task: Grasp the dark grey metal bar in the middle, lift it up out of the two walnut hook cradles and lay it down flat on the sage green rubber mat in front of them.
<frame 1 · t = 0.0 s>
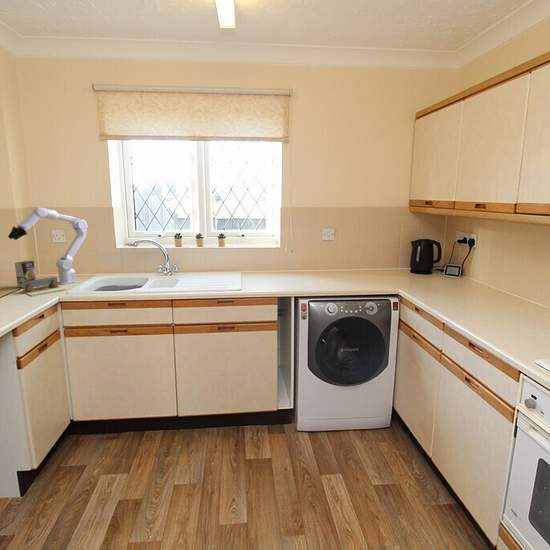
hand: (11, 238, 238), 32 cm above the table, tool tilted 50°, fingers open, 7 cm apart
rail: (40, 285, 247), point 3 cm above the table, touching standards
mat: (47, 291, 241), on the table
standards: (41, 289, 247), on the table
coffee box: (27, 286, 256), on the table
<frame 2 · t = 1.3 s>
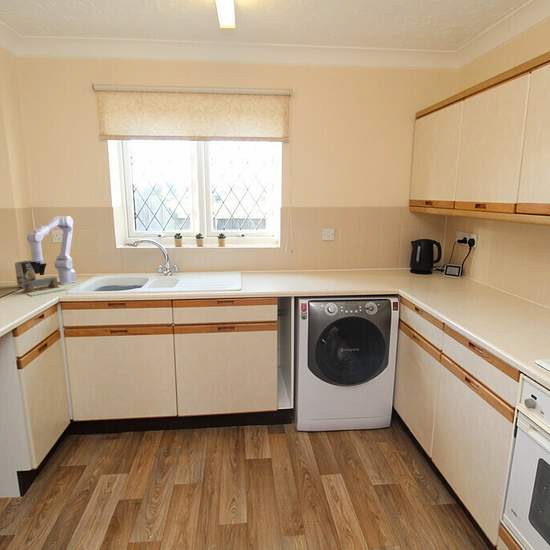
hand: (39, 274, 245), 10 cm above the table, tool pointing down, fingers open, 7 cm apart
nothing on the table moved.
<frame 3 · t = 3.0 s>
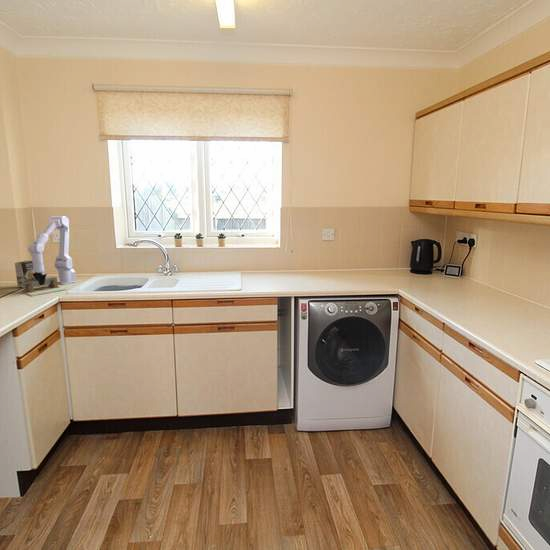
hand: (40, 284, 246), 3 cm above the table, tool pointing down, fingers closed on rail, 3 cm apart
rail: (40, 285, 247), point 3 cm above the table, touching gripper, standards
everything else where it was.
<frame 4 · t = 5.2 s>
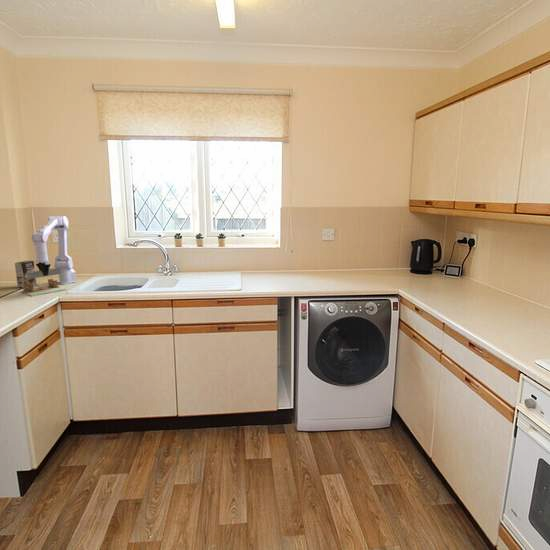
hand: (44, 275, 240), 10 cm above the table, tool pointing down, fingers closed on rail, 3 cm apart
rail: (44, 275, 240), point 10 cm above the table, touching gripper
everything else where it was.
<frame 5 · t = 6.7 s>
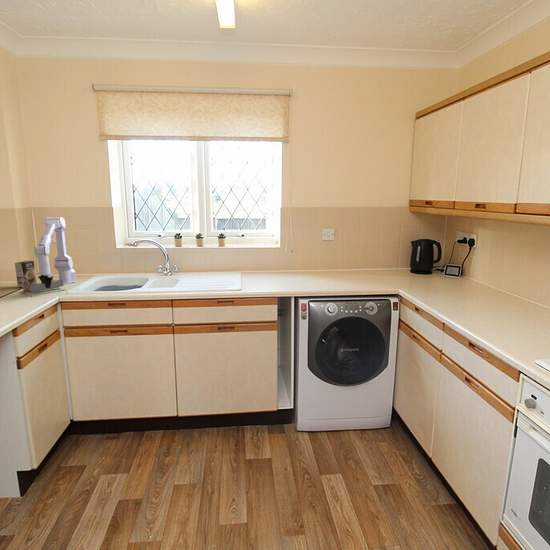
hand: (46, 287, 241), 3 cm above the table, tool pointing down, fingers closed on rail, 3 cm apart
rail: (46, 288, 241), point 2 cm above the table, touching gripper
everything else where it was.
when the fingers open (2 cm above the table, at t = 7.7 s): rail stays where it is, resting on mat.
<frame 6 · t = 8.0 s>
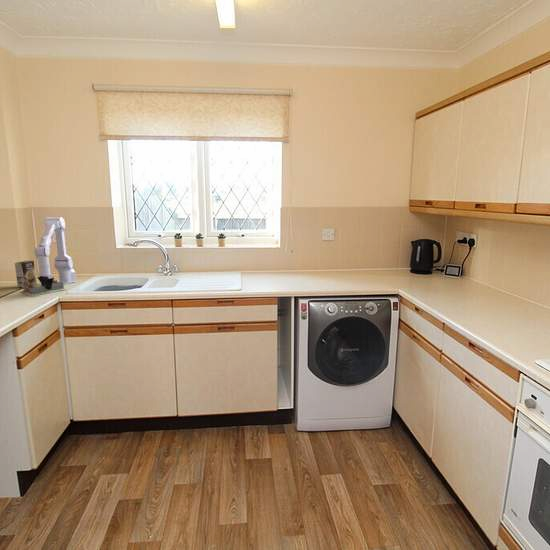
hand: (47, 288, 241), 2 cm above the table, tool pointing down, fingers open, 6 cm apart
rail: (47, 290, 241), point 1 cm above the table, touching mat
everything else where it was.
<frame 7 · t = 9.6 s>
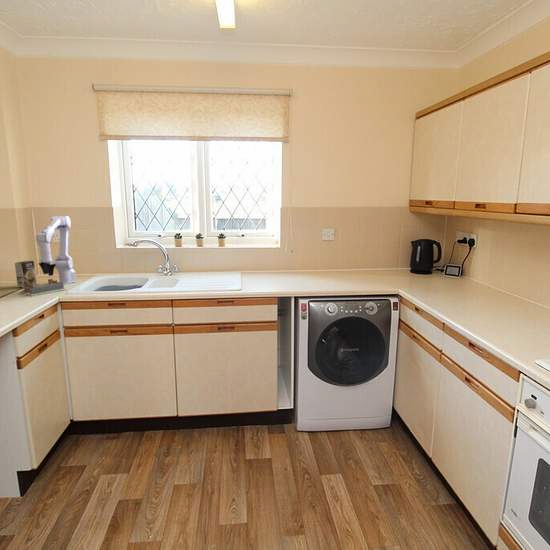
hand: (48, 274, 244), 10 cm above the table, tool pointing down, fingers open, 7 cm apart
nothing on the table moved.
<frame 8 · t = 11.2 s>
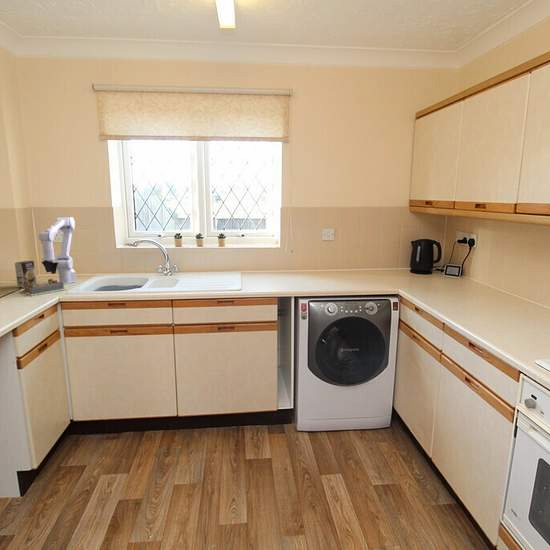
hand: (51, 272, 248), 10 cm above the table, tool pointing down, fingers open, 7 cm apart
nothing on the table moved.
at the end: rail inside the target area (0.1 cm from its centre), point 0.6 cm above the table; rail touching mat; the gripper is holding nothing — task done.
